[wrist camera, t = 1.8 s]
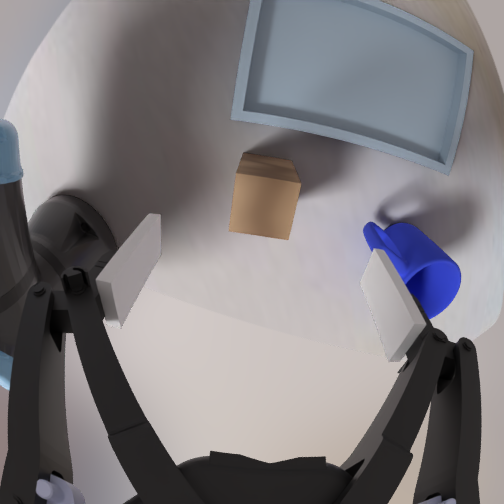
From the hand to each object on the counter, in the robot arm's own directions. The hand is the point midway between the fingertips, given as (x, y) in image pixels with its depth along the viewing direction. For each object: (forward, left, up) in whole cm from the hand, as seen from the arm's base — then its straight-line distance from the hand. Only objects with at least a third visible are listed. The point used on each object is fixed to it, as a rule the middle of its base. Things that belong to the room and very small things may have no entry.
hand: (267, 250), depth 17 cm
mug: (+16, -4, -15) cm, 22 cm away
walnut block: (0, 0, -14) cm, 14 cm away
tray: (+8, +14, -14) cm, 21 cm away
